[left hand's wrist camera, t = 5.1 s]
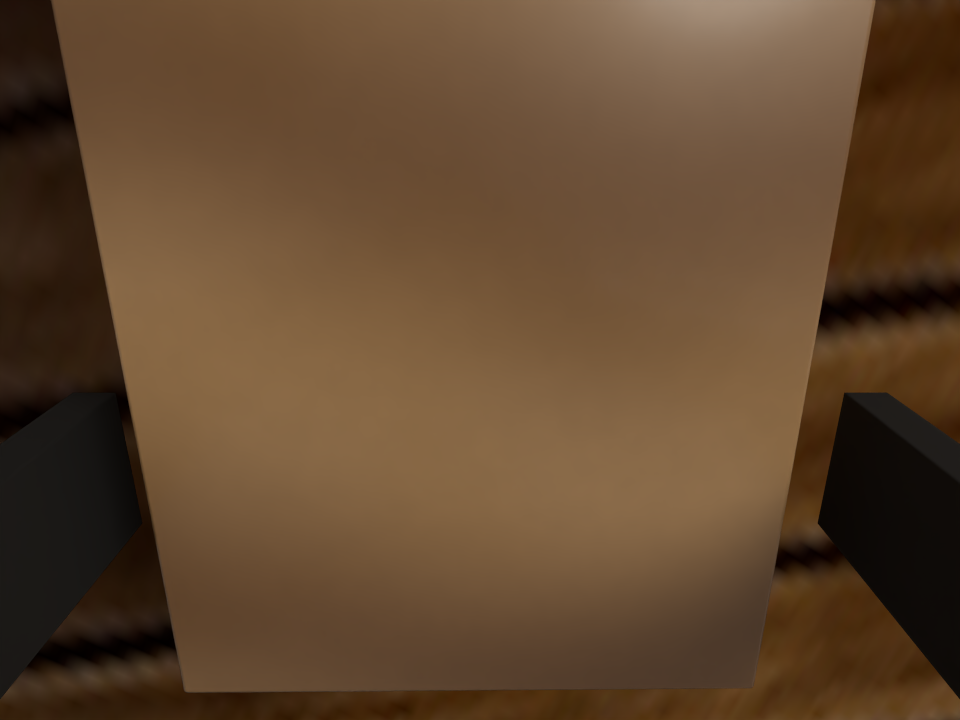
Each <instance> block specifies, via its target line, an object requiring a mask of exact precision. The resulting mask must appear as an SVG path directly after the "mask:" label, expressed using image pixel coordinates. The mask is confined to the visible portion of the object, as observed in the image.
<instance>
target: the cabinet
mask: <svg viewBox="0 0 960 720" xmlns="http://www.w3.org/2000/svg"><path fill="white" fill-rule="evenodd" d="M875 1H876V0H51V3H52V8H53V14H54V19H55V24H56V29H57V34H58V40H59V45H60V50H61V55H62V60H63V65H64V71H65V76H66V81H67V86H68V91H69V96H70V102H71V107H72V112H73V117H74V122H75V128H76V133H77V138H78V143H79V148H80V153H81V159H82V164H83V169H84V174H85V179H86V185H87V190H88V195H89V200H90V205H91V210H92V216H93V221H94V226H95V231H96V236H97V242H98V247H99V252H100V257H101V262H102V267H103V273H104V278H105V283H106V288H107V293H108V298H109V304H110V309H111V314H112V319H113V324H114V330H115V335H116V340H117V345H118V350H119V355H120V361H121V366H122V371H123V376H124V381H125V387H126V392H127V397H128V402H129V407H130V412H131V418H132V423H133V428H134V433H135V438H136V444H137V449H138V454H139V459H140V464H141V469H142V475H143V480H144V485H145V490H146V495H147V500H148V506H149V511H150V516H151V521H152V526H153V532H154V537H155V542H156V547H157V552H158V557H159V563H160V568H161V573H162V578H163V583H164V589H165V594H166V599H167V604H168V609H169V614H170V620H171V625H172V630H173V635H174V640H175V646H176V651H177V656H178V661H179V666H180V671H181V677H182V682H183V687H184V691H185V692H187V693H205V692H330V691H455V690H579V689H704V688H752V687H753V686H754V681H755V675H756V669H757V664H758V658H759V653H760V647H761V641H762V636H763V630H764V624H765V619H766V613H767V608H768V602H769V596H770V591H771V585H772V579H773V574H774V568H775V563H776V557H777V551H778V546H779V540H780V535H781V529H782V523H783V518H784V512H785V506H786V501H787V495H788V490H789V484H790V478H791V473H792V467H793V461H794V456H795V450H796V445H797V439H798V433H799V428H800V422H801V417H802V411H803V405H804V400H805V394H806V388H807V383H808V377H809V372H810V366H811V360H812V355H813V349H814V343H815V338H816V332H817V327H818V321H819V315H820V310H821V304H822V299H823V293H824V287H825V282H826V276H827V270H828V265H829V259H830V254H831V248H832V242H833V237H834V231H835V225H836V220H837V214H838V209H839V203H840V197H841V192H842V186H843V180H844V175H845V169H846V164H847V158H848V152H849V147H850V141H851V136H852V130H853V124H854V119H855V113H856V107H857V102H858V96H859V91H860V85H861V79H862V74H863V68H864V62H865V57H866V51H867V46H868V40H869V34H870V29H871V23H872V18H873V12H874V6H875Z"/></svg>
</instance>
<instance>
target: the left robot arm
mask: <svg viewBox="0 0 960 720" xmlns="http://www.w3.org/2000/svg"><path fill="white" fill-rule="evenodd" d="M141 524H142V519H141V515H140V510H139V505H138V500H137V495H136V490H135V485H134V480H133V476H132V471H131V466H130V461H129V456H128V451H127V446H126V441H125V436H124V432H123V427H122V422H121V417H120V412H119V407H118V402H117V397H116V393H72V394H71V395H69V396H68V397H66V398H65V399H63V400H62V401H61V402H59V403H58V404H56V405H55V406H54V407H52V408H51V409H49V410H48V411H47V412H45V413H44V414H42V415H41V416H39V417H38V418H37V419H35V420H34V421H32V422H31V423H30V424H28V425H27V426H25V427H24V428H22V429H21V430H20V431H18V432H17V433H15V434H14V435H13V436H11V437H10V438H8V439H7V440H5V441H4V442H3V443H1V444H0V699H1V698H2V696H3V695H4V694H5V693H6V691H7V690H8V689H9V688H10V686H11V685H12V684H13V683H14V681H15V680H16V679H17V678H18V676H19V675H20V674H21V673H22V672H23V670H24V669H25V668H26V667H27V665H28V664H29V663H30V662H31V660H32V659H33V658H34V657H35V655H36V654H37V653H38V652H39V650H40V649H41V648H42V647H43V646H44V644H45V643H46V642H47V641H48V639H49V638H50V637H51V636H52V634H53V633H54V632H55V631H56V629H57V628H58V627H59V626H60V624H61V623H62V622H63V621H64V620H65V618H66V617H67V616H68V615H69V613H70V612H71V611H72V610H73V608H74V607H75V606H76V605H77V603H78V602H79V601H80V600H81V598H82V597H83V596H84V595H85V594H86V592H87V591H88V590H89V589H90V587H91V586H92V585H93V584H94V582H95V581H96V580H97V579H98V577H99V576H100V575H101V574H102V572H103V571H104V570H105V569H106V568H107V566H108V565H109V564H110V563H111V561H112V560H113V559H114V558H115V556H116V555H117V554H118V553H119V551H120V550H121V549H122V548H123V546H124V545H125V544H126V543H127V542H128V540H129V539H130V538H131V537H132V535H133V534H134V533H135V532H136V530H137V529H138V528H139V527H140V525H141ZM818 524H819V525H820V527H821V528H822V529H823V530H824V532H825V533H826V534H827V535H828V537H829V538H830V539H831V540H832V542H833V543H834V544H835V545H836V546H837V548H838V549H839V550H840V551H841V553H842V554H843V555H844V556H845V558H846V559H847V560H848V561H849V563H850V564H851V565H852V566H853V568H854V569H855V570H856V571H857V572H858V574H859V575H860V576H861V577H862V579H863V580H864V581H865V582H866V584H867V585H868V586H869V587H870V589H871V590H872V591H873V592H874V594H875V595H876V596H877V597H878V598H879V600H880V601H881V602H882V603H883V605H884V606H885V607H886V608H887V610H888V611H889V612H890V613H891V615H892V616H893V617H894V618H895V620H896V621H897V622H898V623H899V624H900V626H901V627H902V628H903V629H904V631H905V632H906V633H907V634H908V636H909V637H910V638H911V639H912V641H913V642H914V643H915V644H916V646H917V647H918V648H919V649H920V650H921V652H922V653H923V654H924V655H925V657H926V658H927V659H928V660H929V662H930V663H931V664H932V665H933V667H934V668H935V669H936V670H937V672H938V673H939V674H940V675H941V676H942V678H943V679H944V680H945V681H946V683H947V684H948V685H949V686H950V688H951V689H952V690H953V691H954V693H955V694H956V695H957V696H958V698H959V699H960V444H959V443H957V442H956V441H955V440H953V439H952V438H950V437H949V436H947V435H946V434H945V433H943V432H942V431H940V430H939V429H938V428H936V427H935V426H933V425H932V424H930V423H929V422H928V421H926V420H925V419H923V418H922V417H921V416H919V415H918V414H916V413H915V412H913V411H912V410H911V409H909V408H908V407H906V406H905V405H904V404H902V403H901V402H899V401H898V400H897V399H895V398H894V397H892V396H891V395H889V394H888V393H844V397H843V402H842V407H841V412H840V417H839V422H838V427H837V432H836V436H835V441H834V446H833V451H832V456H831V461H830V466H829V471H828V476H827V480H826V485H825V490H824V495H823V500H822V505H821V510H820V515H819V519H818Z"/></svg>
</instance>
